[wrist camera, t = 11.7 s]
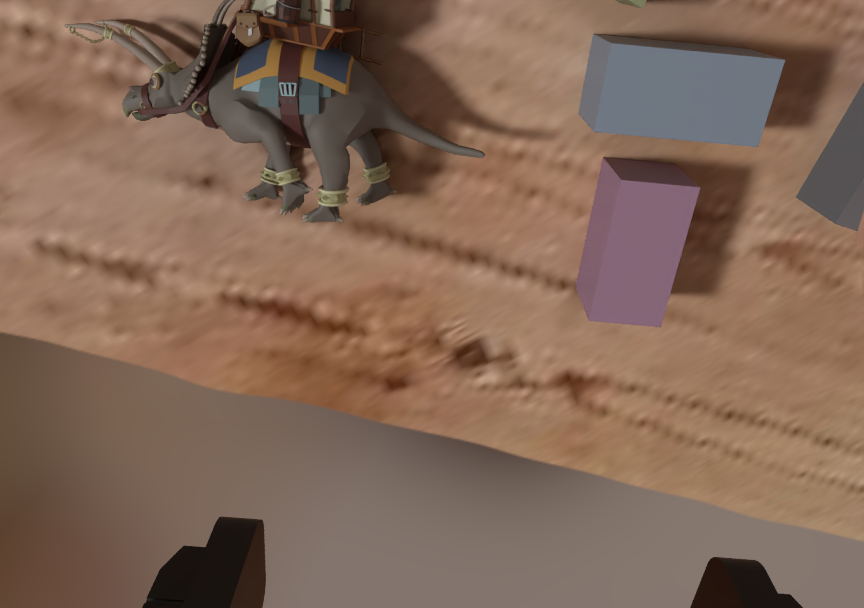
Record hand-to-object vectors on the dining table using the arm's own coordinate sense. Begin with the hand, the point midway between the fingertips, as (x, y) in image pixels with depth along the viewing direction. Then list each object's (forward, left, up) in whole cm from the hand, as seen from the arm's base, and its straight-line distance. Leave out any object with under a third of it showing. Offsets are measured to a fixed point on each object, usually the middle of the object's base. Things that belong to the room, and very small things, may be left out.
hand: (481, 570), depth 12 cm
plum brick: (+3, +10, -28) cm, 30 cm away
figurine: (-5, -9, -29) cm, 31 cm away
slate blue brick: (-5, +10, -28) cm, 30 cm away
